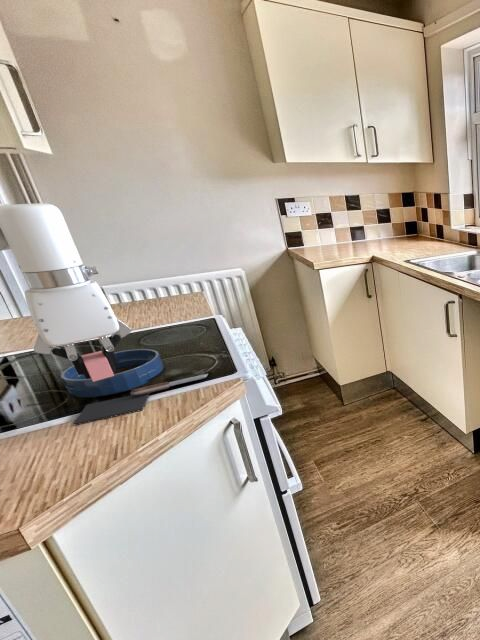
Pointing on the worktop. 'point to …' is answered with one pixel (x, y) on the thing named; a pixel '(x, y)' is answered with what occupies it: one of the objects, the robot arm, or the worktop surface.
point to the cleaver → (163, 385)
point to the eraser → (97, 366)
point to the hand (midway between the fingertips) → (100, 372)
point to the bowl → (116, 375)
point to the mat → (111, 408)
